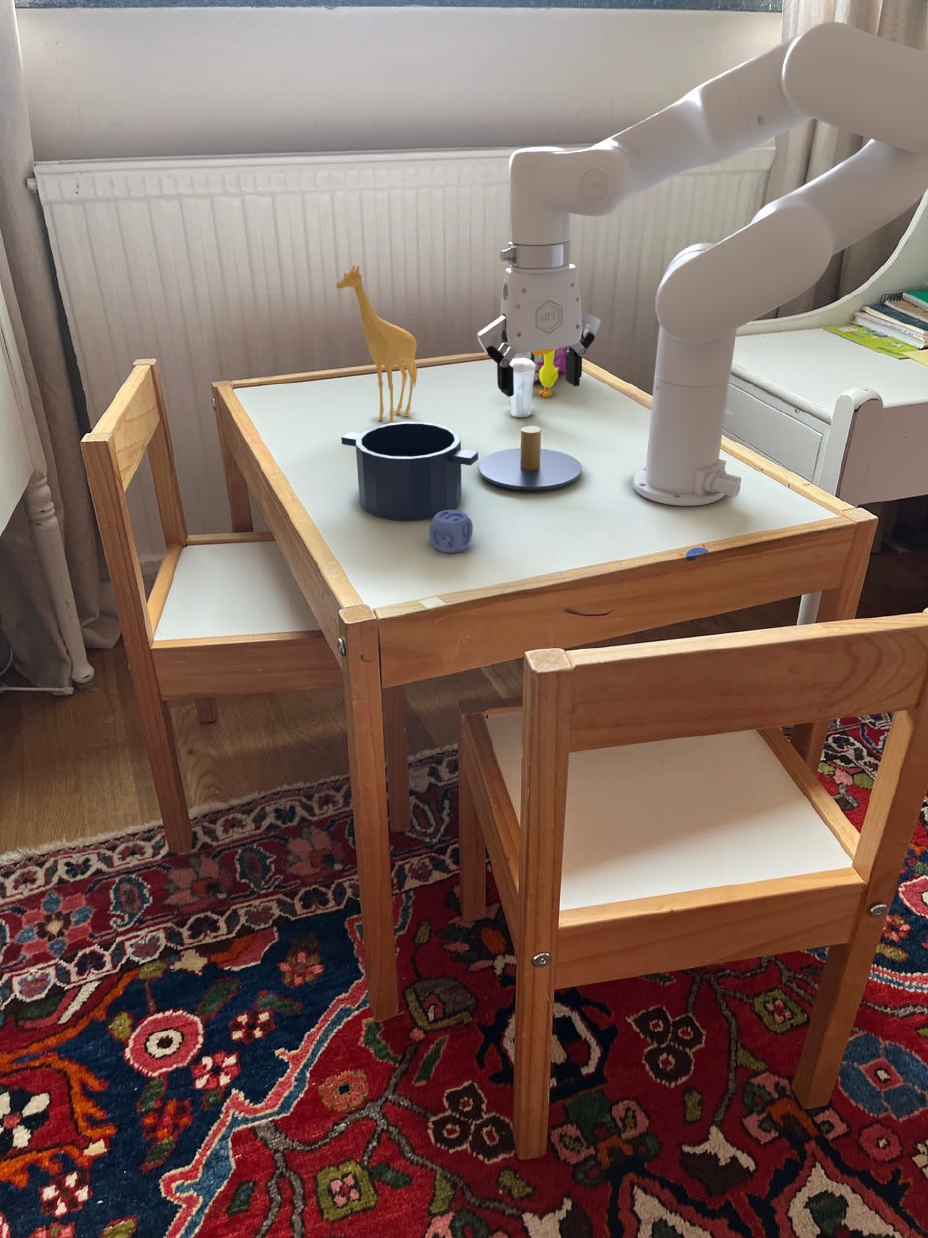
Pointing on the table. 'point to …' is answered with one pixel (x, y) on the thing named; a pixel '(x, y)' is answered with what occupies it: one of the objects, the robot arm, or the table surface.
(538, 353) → the toy figure
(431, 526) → the decorative dice
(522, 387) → the milkshake
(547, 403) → the table surface
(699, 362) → the robot arm
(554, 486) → the lid
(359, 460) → the blue cooking pot
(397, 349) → the giraffe
